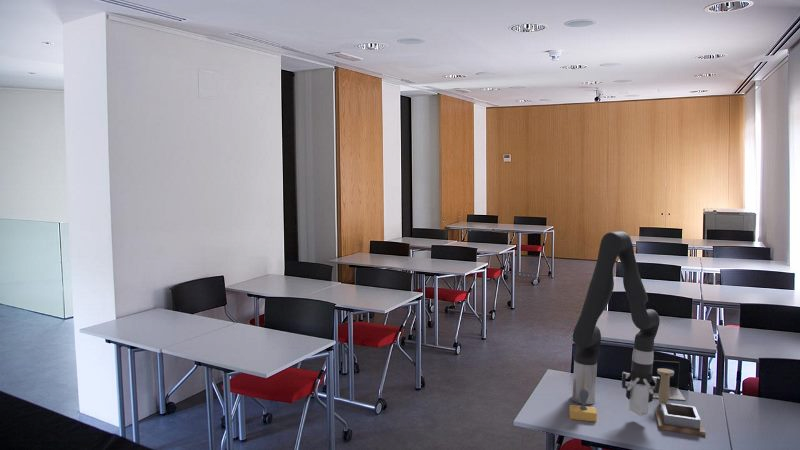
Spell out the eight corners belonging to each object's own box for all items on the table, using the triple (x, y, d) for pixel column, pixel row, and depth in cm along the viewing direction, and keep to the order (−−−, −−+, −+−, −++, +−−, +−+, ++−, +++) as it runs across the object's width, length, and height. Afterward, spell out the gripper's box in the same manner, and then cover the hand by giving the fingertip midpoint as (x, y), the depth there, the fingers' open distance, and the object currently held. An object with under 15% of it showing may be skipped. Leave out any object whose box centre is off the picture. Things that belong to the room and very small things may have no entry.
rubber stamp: (594, 415, 233) (596, 387, 231) (596, 422, 227) (598, 393, 226) (569, 413, 235) (570, 384, 233) (570, 419, 229) (571, 390, 228)
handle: (672, 408, 240) (675, 373, 239) (655, 406, 242) (658, 371, 240) (670, 403, 245) (673, 369, 243) (654, 401, 247) (656, 367, 245)
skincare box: (648, 414, 226) (651, 385, 225) (640, 416, 224) (642, 387, 223) (635, 408, 232) (638, 379, 230) (627, 409, 230) (630, 381, 228)
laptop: (641, 397, 251) (643, 369, 249) (635, 386, 263) (637, 358, 262) (685, 401, 248) (688, 372, 246) (677, 389, 260) (679, 362, 258)
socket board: (659, 429, 222) (660, 415, 221) (655, 412, 236) (656, 399, 235) (705, 436, 217) (706, 422, 216) (698, 418, 231) (699, 405, 230)
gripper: (623, 360, 224) (619, 401, 226) (663, 366, 219) (659, 407, 222) (622, 354, 231) (619, 393, 233) (661, 359, 226) (657, 399, 229)
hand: (638, 400), depth 227 cm, fingers closed on skincare box, 7 cm apart
